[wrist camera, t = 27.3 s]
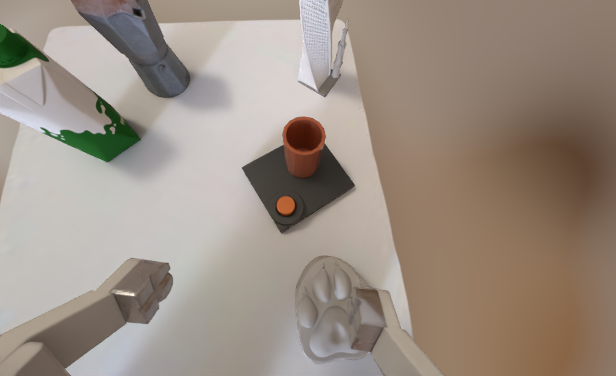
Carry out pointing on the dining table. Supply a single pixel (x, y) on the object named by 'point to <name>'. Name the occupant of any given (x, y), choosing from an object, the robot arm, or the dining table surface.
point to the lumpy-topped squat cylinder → (326, 310)
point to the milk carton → (57, 101)
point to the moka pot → (137, 41)
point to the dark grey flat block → (296, 185)
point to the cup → (303, 146)
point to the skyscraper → (320, 44)
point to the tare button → (286, 205)
